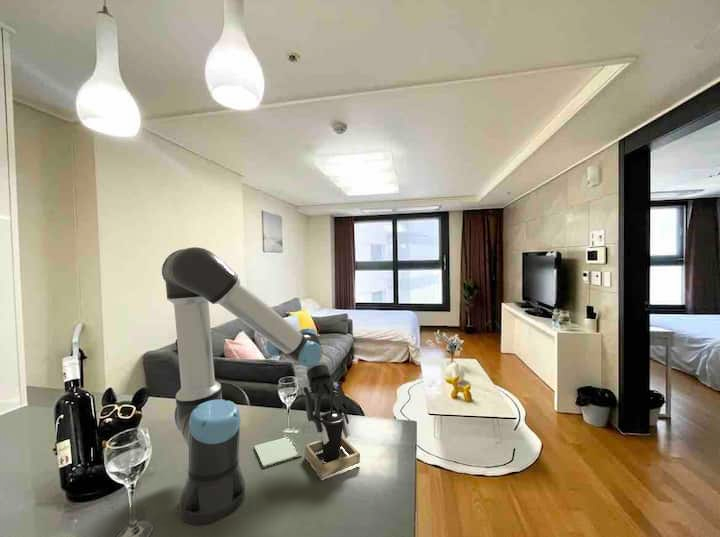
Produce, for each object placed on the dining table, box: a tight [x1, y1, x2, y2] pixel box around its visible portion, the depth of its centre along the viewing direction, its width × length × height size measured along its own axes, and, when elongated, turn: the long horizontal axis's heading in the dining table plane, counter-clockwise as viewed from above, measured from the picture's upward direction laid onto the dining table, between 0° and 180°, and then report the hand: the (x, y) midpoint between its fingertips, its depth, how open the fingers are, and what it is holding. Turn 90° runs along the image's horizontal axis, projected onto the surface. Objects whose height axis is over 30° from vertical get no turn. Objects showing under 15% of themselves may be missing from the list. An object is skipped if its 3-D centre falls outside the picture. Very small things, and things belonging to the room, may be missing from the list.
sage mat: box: [253, 436, 298, 466], centre depth 99 cm, size 12×12×1 cm
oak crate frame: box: [304, 435, 361, 479], centre depth 94 cm, size 13×13×4 cm
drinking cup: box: [320, 396, 344, 463], centre depth 94 cm, size 8×8×20 cm
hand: (337, 439), depth 92 cm, fingers closed on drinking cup, 6 cm apart
